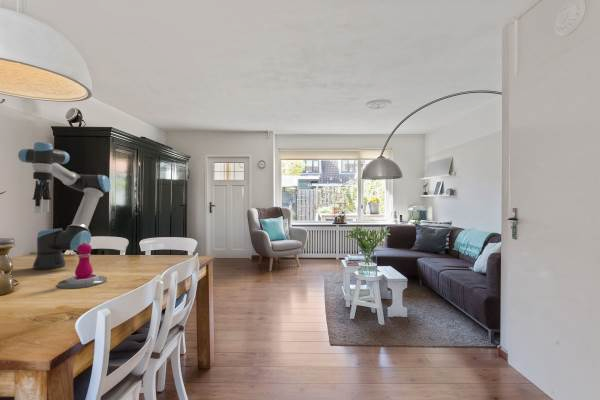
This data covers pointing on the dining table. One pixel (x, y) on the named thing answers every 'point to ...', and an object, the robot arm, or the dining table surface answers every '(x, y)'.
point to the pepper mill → (84, 262)
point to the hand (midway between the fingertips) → (41, 212)
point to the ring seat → (82, 282)
